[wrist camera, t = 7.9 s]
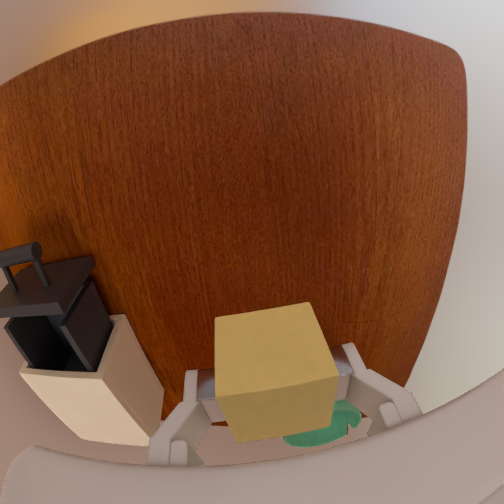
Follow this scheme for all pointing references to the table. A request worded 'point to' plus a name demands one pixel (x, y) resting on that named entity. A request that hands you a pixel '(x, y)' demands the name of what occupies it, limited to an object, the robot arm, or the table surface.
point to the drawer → (54, 311)
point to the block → (274, 373)
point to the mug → (336, 430)
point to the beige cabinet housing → (106, 392)
